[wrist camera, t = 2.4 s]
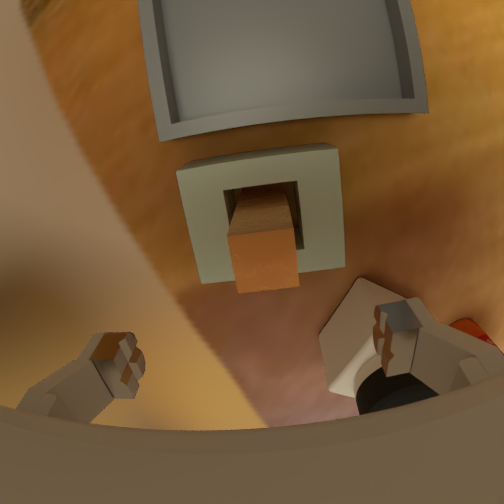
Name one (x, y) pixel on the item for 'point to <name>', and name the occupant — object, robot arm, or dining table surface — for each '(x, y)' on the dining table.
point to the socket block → (259, 173)
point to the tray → (278, 61)
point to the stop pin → (263, 240)
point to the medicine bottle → (364, 354)
